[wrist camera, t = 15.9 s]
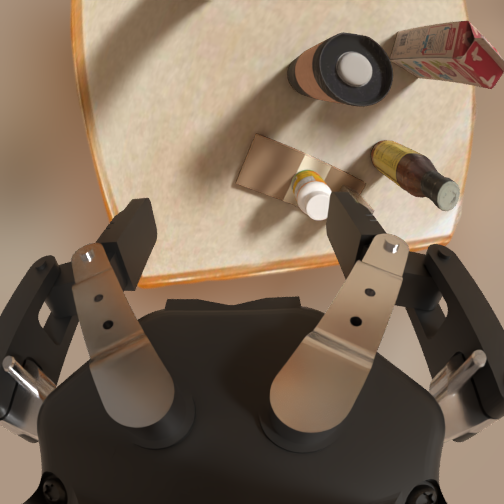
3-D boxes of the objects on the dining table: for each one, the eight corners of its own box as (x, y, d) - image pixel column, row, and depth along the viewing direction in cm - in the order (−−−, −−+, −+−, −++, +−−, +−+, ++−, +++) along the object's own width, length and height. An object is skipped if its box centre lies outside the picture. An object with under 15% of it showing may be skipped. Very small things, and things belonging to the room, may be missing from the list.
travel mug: (311, 107, 38) (359, 124, 21) (275, 75, 35) (299, 64, 18) (342, 77, 35) (408, 77, 18) (307, 45, 32) (354, 17, 15)
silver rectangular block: (330, 208, 47) (343, 230, 40) (343, 184, 44) (359, 203, 37) (343, 214, 47) (358, 236, 41) (356, 191, 45) (374, 210, 38)
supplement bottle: (326, 190, 45) (343, 215, 37) (298, 203, 46) (309, 230, 38) (314, 163, 42) (331, 183, 34) (285, 176, 43) (294, 199, 35)
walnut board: (236, 181, 45) (236, 183, 44) (256, 133, 40) (256, 134, 39) (340, 221, 50) (342, 224, 49) (363, 181, 45) (366, 183, 44)
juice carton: (397, 31, 28) (485, 19, 10) (426, 50, 29) (516, 54, 11) (389, 60, 32) (479, 60, 14) (418, 78, 33) (509, 93, 15)
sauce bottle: (402, 161, 42) (470, 208, 26) (377, 176, 44) (437, 231, 28) (389, 131, 39) (462, 166, 23) (362, 146, 41) (426, 189, 25)
